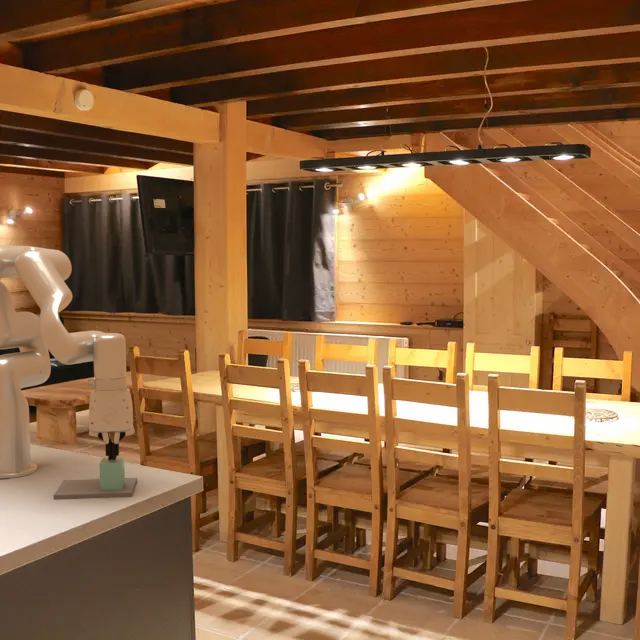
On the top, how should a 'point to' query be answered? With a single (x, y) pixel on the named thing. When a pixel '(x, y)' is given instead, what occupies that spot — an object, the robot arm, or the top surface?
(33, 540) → the top surface
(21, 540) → the top surface
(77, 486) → the stand board
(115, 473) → the sage green cube
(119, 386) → the robot arm
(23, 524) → the top surface
